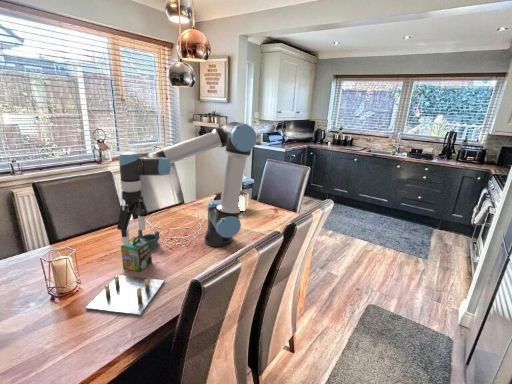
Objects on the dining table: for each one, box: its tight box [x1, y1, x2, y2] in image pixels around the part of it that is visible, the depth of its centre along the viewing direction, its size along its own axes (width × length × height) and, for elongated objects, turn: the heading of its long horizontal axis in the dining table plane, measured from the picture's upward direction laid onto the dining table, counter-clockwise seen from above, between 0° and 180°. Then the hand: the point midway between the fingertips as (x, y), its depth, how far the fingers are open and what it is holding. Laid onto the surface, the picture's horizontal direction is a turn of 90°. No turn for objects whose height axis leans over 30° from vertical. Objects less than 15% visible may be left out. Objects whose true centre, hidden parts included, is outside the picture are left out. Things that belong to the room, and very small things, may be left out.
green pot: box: [137, 229, 160, 251], centre depth 142 cm, size 9×9×9 cm
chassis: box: [85, 274, 165, 317], centre depth 106 cm, size 20×20×6 cm
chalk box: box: [120, 235, 153, 273], centre depth 124 cm, size 9×9×15 cm
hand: (134, 236), depth 122 cm, fingers open, 13 cm apart
